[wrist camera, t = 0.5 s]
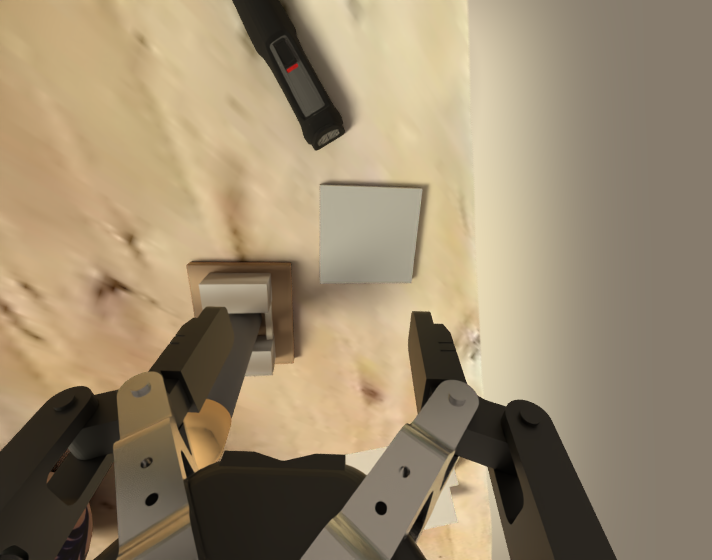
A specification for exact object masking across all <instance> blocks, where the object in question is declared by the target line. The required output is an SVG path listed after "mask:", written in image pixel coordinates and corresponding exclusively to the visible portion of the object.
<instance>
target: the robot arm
mask: <svg viewBox="0 0 712 560" xmlns="http://www.w3.org/2000/svg"><path fill="white" fill-rule="evenodd" d="M233 343H234V332H233V329H232V325H231V321H230V318H229V314H228V311H227V309H226V307H216V306H207V307H205V308H204V309H203V311H202V312H201V314H200V315H199V316H198V318H192V319H191V320H190V321H188V322H187V323H186V324H184V325H183V326H182V327H181V328H180V330H179V331H178V332H177V334H176V337H174V338H173V339H172V340H171V342H170V344H169V345H168V346H167V347H166V349H165V350H164V351H163V353H162V354H161V355H160V357H159V358H158V359H157V361H156V362H155V363H154V365H153V366H152V367H151V369H150V370H149V371H148V372H144V373H141V374H138V375H136V376H134V377H132V378H130V379H129V380H127V381H126V382H125V383H124V384H123V385H122V386H121V387H120V389H119V390H115V391H110V392H106V393H101V394H97V395H94V394H93V393H92V391H91V390H90V389H89V388H88V387H85V386H77V387H72V388H69V389H66V390H64V391H62V392H60V393H58V394H56V395H55V396H53V397H52V398H50V399H49V400H48V401H47V402H46V403H45V404H44V405H43V406H42V407H41V408H40V409H39V410H38V411H37V412H36V414H35V415H34V416H33V417H32V418H31V419H30V420H29V421H28V422H27V423H26V424H25V425H24V427H23V428H22V429H21V430H20V431H19V432H18V433H17V434H16V435H15V436H14V437H13V438H12V440H11V441H10V442H9V443H8V444H7V445H6V446H5V447H4V448H3V449H2V450H1V451H0V560H54V559H55V558H56V556H57V554H58V553H59V551H60V549H61V548H62V546H63V544H64V543H65V541H66V539H67V538H68V536H69V535H70V533H71V531H72V530H73V528H74V526H75V525H76V523H77V521H78V520H79V518H80V516H81V515H82V513H83V511H84V510H85V508H86V506H87V505H88V503H89V501H90V500H91V498H92V496H93V495H94V493H95V491H96V490H97V488H98V486H99V485H100V483H101V481H102V480H103V478H104V477H105V475H106V473H107V472H108V470H109V468H110V467H111V465H112V463H113V462H114V470H115V486H116V503H117V520H118V536H119V538H118V539H117V540H116V541H114V542H113V543H112V544H111V545H110V546H109V547H108V548H106V549H105V550H104V551H103V552H102V553H101V554H100V555H98V556H97V557H96V558H95V559H94V560H427V559H426V558H425V556H424V555H423V553H422V552H421V550H420V549H419V547H418V546H417V544H416V543H417V541H418V539H419V537H420V535H421V533H422V532H423V530H424V528H425V526H426V524H427V522H428V520H429V518H430V516H431V514H432V512H433V509H434V507H435V505H436V502H437V500H438V498H439V496H440V494H441V492H442V490H443V488H444V486H445V484H446V483H447V481H448V479H449V477H450V475H451V473H452V471H453V469H454V467H455V465H456V464H457V462H458V460H459V458H460V457H463V458H465V459H468V460H471V461H474V462H476V463H479V464H482V465H484V466H487V467H488V471H489V474H490V479H491V483H492V486H493V491H494V495H495V499H496V503H497V507H498V511H499V515H500V519H501V523H502V527H503V531H504V535H505V539H506V543H507V547H508V551H509V555H510V559H511V560H617V559H616V557H615V554H614V552H613V550H612V548H611V546H610V544H609V542H608V539H607V537H606V535H605V533H604V531H603V529H602V527H601V524H600V522H599V520H598V518H597V516H596V514H595V512H594V510H593V507H592V505H591V503H590V501H589V499H588V497H587V495H586V493H585V490H584V488H583V486H582V484H581V482H580V480H579V478H578V476H577V473H576V471H575V469H574V467H573V465H572V463H571V461H570V459H569V456H568V454H567V452H566V450H565V448H564V446H563V444H562V441H561V439H560V437H559V435H558V433H557V431H556V429H555V426H554V424H553V422H552V420H551V418H550V417H549V415H548V414H547V413H546V412H545V411H544V410H543V409H542V408H540V407H539V406H538V405H535V404H534V403H532V402H529V401H525V400H514V401H511V402H510V403H508V405H507V406H503V405H500V404H496V403H493V402H490V401H487V400H485V399H483V398H481V397H479V396H478V395H477V394H476V392H475V391H474V390H473V389H472V388H471V387H470V386H469V385H467V382H466V380H465V377H464V373H463V370H462V367H461V364H460V361H459V358H458V355H457V352H456V349H455V346H454V344H453V339H452V336H451V333H450V332H449V331H448V329H447V328H446V327H445V326H444V325H443V324H433V320H432V316H431V313H430V312H423V311H412V314H411V322H410V330H409V338H408V351H409V358H410V365H411V372H412V379H413V385H414V392H415V399H416V406H417V412H418V415H417V417H416V418H415V419H414V421H413V422H412V423H411V424H408V423H407V424H405V425H404V426H403V427H402V428H401V430H400V431H399V432H398V434H397V435H396V437H395V438H394V439H393V441H392V442H391V443H390V445H389V446H388V447H387V449H386V450H385V452H384V453H383V454H382V456H381V457H380V458H379V460H378V461H377V462H376V464H375V465H374V467H373V468H372V469H371V471H370V472H369V473H368V475H366V474H364V473H363V472H361V471H360V470H358V469H356V468H354V467H352V466H349V465H347V464H346V455H336V454H313V455H308V456H304V457H300V458H295V459H291V460H286V461H281V460H278V459H275V458H272V457H269V456H266V455H263V454H260V453H257V452H248V451H225V452H224V454H223V457H222V459H221V461H219V462H216V463H213V464H210V465H208V466H206V467H204V468H202V469H200V470H199V469H198V466H197V463H196V460H195V457H194V453H193V449H192V446H191V442H190V438H189V435H188V431H187V427H186V424H185V421H184V418H185V416H186V414H187V413H188V412H191V413H199V412H200V410H201V408H202V406H203V404H204V402H205V400H206V399H207V397H208V395H209V393H210V391H211V389H212V387H213V385H214V383H215V381H216V379H217V377H218V375H219V373H220V371H221V369H222V367H223V365H224V363H225V361H226V359H227V357H228V355H229V353H230V351H231V349H232V347H233ZM67 448H68V450H69V451H70V453H69V454H68V455H67V457H66V458H65V459H64V461H63V462H62V464H61V465H60V466H59V468H58V469H57V470H56V472H55V473H54V474H53V476H52V477H51V478H50V480H49V481H48V483H47V478H48V475H49V473H50V471H51V470H52V468H53V467H54V466H55V464H56V463H57V462H58V460H59V459H60V458H61V456H62V455H63V454H64V452H65V451H66V450H67Z"/></svg>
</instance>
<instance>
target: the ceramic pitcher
mask: <svg viewBox="0 0 712 560" xmlns="http://www.w3.org/2000/svg"><path fill="white" fill-rule="evenodd" d="M53 474H54V472H50V473H49V475H48V478H47V483H48V481H49V480H50V478H51V477H52V476H53ZM92 530H93V520H92V513H91V508H90V505H89V503H88V505H87V506H86V508H85V510H84V511H83V513H82V515H81V516H80V518H79V520H78V521H77V523H76V525H75V526H74V528H73V530H72V531H71V533H70V535H69V536H68V538H67V539H66V541H65V543H64V544H63V546H62V548H61V549H60V551H59V553H58V554H57V556H56V558H55V559H54V560H85V559H86V556H87V554H88V551H89V547H90V542H91V537H92Z"/></svg>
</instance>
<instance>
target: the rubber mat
mask: <svg viewBox="0 0 712 560" xmlns="http://www.w3.org/2000/svg"><path fill="white" fill-rule="evenodd" d="M421 198H422V189H421V188H409V187H381V186H354V185H326V184H320V284H336V283H411V282H412V274H413V265H414V257H415V248H416V240H417V231H418V223H419V215H420V206H421Z"/></svg>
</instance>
